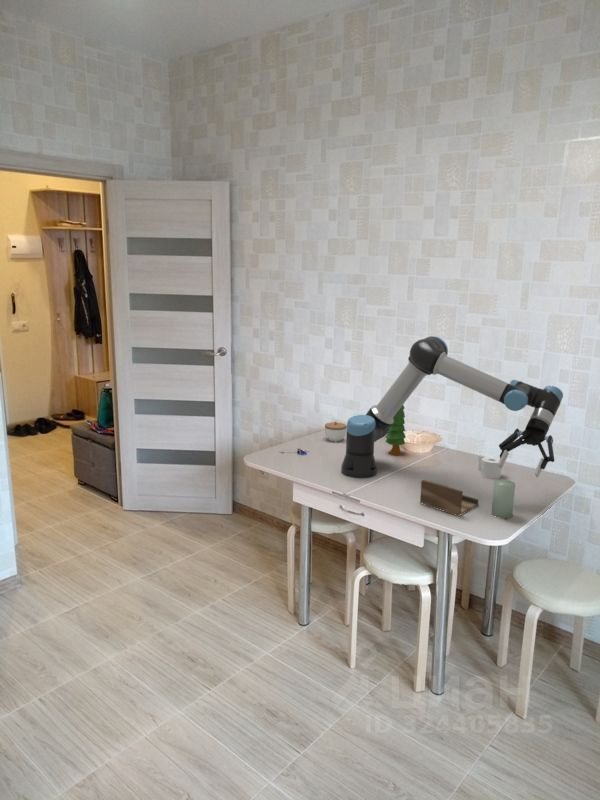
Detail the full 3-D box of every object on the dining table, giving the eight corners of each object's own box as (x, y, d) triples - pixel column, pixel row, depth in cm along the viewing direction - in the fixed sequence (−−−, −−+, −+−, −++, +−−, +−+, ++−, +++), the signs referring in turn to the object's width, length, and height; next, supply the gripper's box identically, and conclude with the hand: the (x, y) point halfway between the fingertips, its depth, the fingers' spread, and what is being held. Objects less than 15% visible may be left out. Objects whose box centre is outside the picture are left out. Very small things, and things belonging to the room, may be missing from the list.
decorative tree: (392, 457, 281) (396, 392, 274) (380, 451, 288) (383, 389, 282) (409, 454, 285) (413, 391, 279) (396, 448, 293) (399, 387, 287)
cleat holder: (440, 494, 236) (442, 471, 234) (478, 505, 225) (480, 482, 223) (420, 503, 226) (421, 480, 224) (458, 516, 215) (460, 491, 213)
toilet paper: (478, 469, 266) (480, 454, 264) (503, 475, 259) (505, 459, 257) (470, 474, 260) (471, 458, 258) (495, 480, 252) (497, 464, 251)
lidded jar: (346, 443, 301) (347, 424, 299) (325, 442, 301) (325, 424, 299) (344, 437, 312) (345, 419, 310) (323, 436, 311) (324, 419, 309)
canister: (496, 519, 213) (499, 486, 211) (488, 511, 220) (491, 479, 217) (515, 518, 214) (518, 486, 211) (506, 510, 221) (510, 479, 218)
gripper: (575, 435, 221) (554, 484, 214) (510, 422, 238) (488, 467, 231) (571, 423, 216) (549, 473, 209) (505, 411, 233) (482, 457, 226)
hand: (517, 470), depth 220 cm, fingers open, 13 cm apart
